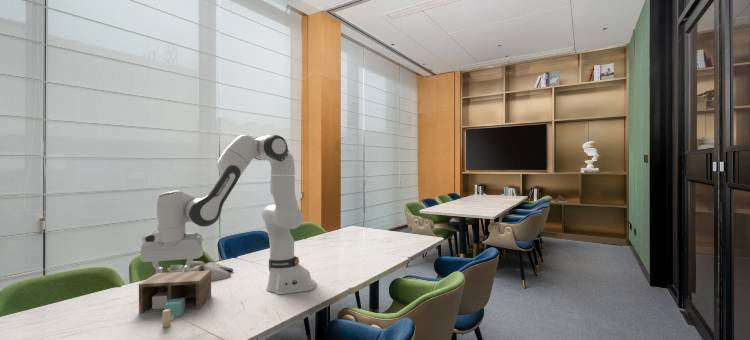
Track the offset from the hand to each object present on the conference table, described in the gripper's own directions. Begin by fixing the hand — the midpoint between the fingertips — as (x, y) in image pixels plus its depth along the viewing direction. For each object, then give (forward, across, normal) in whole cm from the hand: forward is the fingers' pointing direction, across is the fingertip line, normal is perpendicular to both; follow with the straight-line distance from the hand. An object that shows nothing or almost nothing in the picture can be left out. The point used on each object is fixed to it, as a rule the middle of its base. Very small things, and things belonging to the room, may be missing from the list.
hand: (173, 271), depth 123 cm
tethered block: (+18, +1, 0) cm, 18 cm away
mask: (+19, +8, -51) cm, 55 cm away
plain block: (+18, +10, -14) cm, 25 cm away
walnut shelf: (+18, +5, -15) cm, 24 cm away
